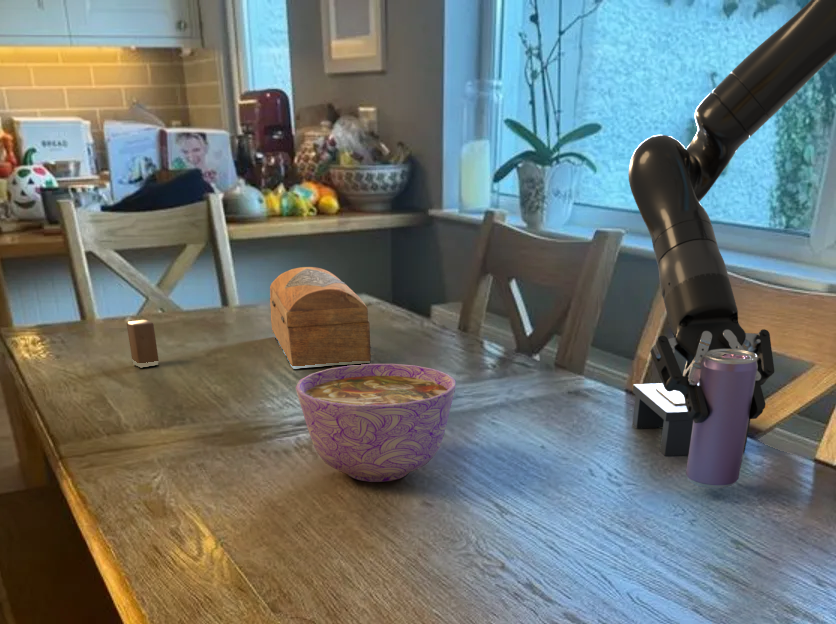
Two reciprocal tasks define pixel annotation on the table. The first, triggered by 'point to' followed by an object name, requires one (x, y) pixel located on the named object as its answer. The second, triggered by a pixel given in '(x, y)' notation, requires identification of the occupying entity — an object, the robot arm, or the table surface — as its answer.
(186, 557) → the table surface
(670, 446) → the dark footstool
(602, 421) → the table surface
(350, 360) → the wooden box
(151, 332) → the wooden block
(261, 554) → the table surface
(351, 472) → the bowl of food
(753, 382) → the beverage can
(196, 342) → the table surface
